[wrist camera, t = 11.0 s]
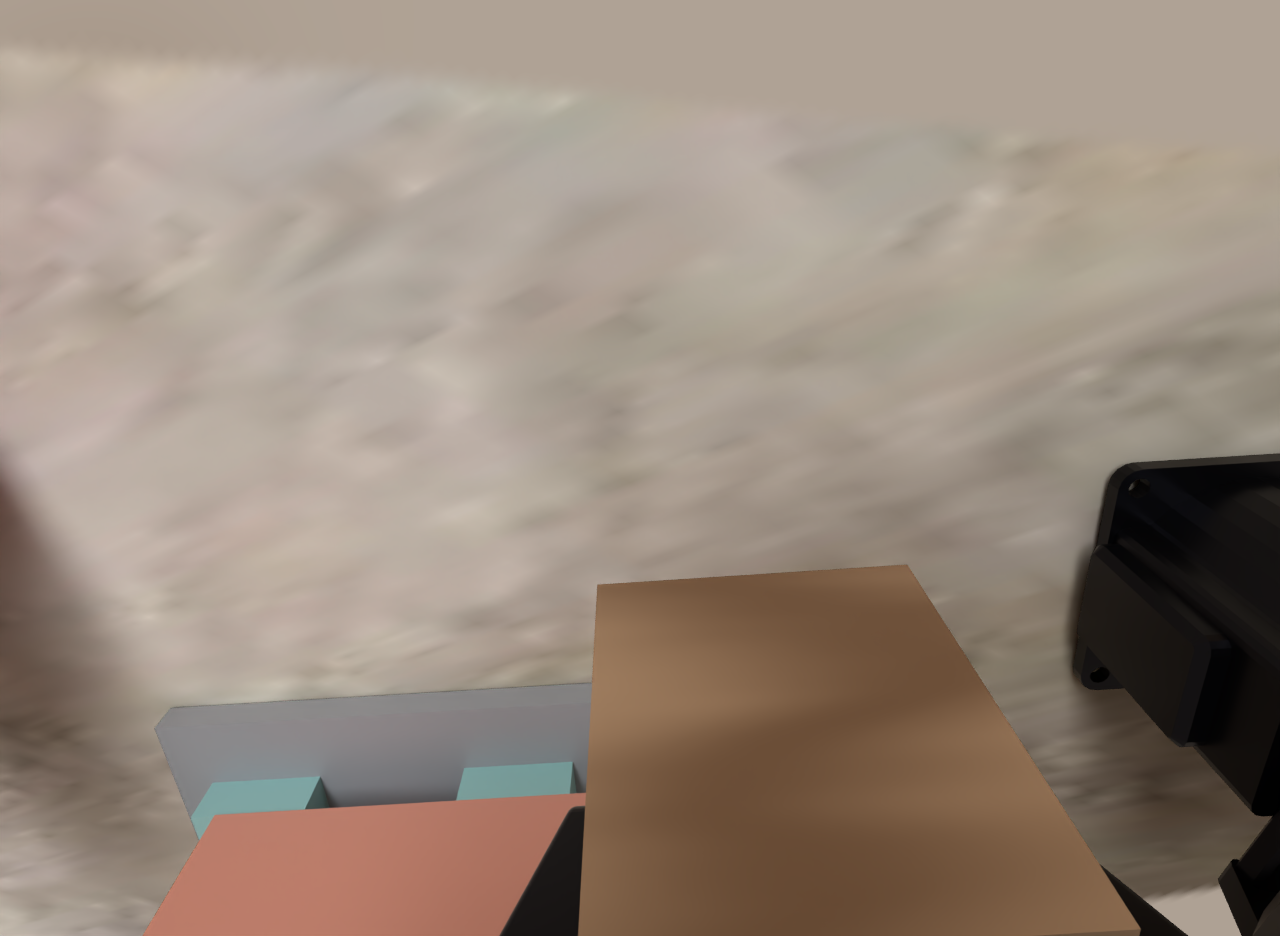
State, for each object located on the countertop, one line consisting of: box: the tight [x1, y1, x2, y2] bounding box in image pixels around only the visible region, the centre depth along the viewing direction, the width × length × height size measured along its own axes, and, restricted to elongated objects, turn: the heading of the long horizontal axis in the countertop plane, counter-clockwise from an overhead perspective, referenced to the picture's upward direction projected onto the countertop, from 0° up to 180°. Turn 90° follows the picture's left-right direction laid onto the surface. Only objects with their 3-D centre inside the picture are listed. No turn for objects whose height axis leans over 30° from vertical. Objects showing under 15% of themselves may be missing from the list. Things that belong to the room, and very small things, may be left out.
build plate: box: [154, 683, 592, 840], centre depth 22 cm, size 12×8×2 cm, turn 93°
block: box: [578, 565, 1141, 936], centre depth 9 cm, size 4×4×5 cm
